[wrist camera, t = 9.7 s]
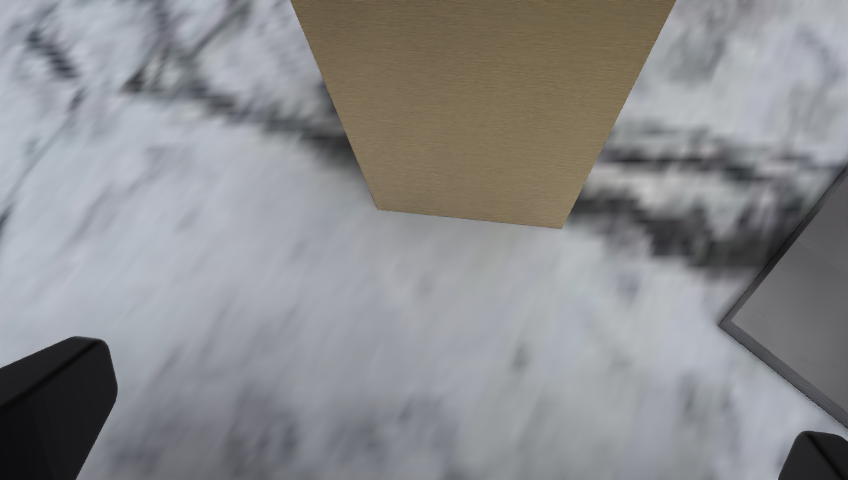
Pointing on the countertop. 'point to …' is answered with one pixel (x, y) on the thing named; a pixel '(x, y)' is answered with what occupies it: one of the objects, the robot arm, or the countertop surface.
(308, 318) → the countertop surface
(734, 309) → the grey plate with hole
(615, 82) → the tan square peg
